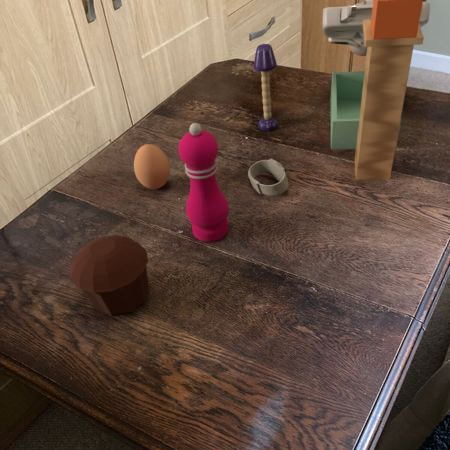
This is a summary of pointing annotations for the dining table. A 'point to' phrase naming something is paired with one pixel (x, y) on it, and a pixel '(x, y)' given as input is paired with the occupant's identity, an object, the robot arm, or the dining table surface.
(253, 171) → the grey band loop
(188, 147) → the pepper mill
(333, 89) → the bin
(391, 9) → the mallet
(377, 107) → the stand
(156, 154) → the egg
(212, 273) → the dining table surface
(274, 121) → the toy lamp
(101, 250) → the muffin
